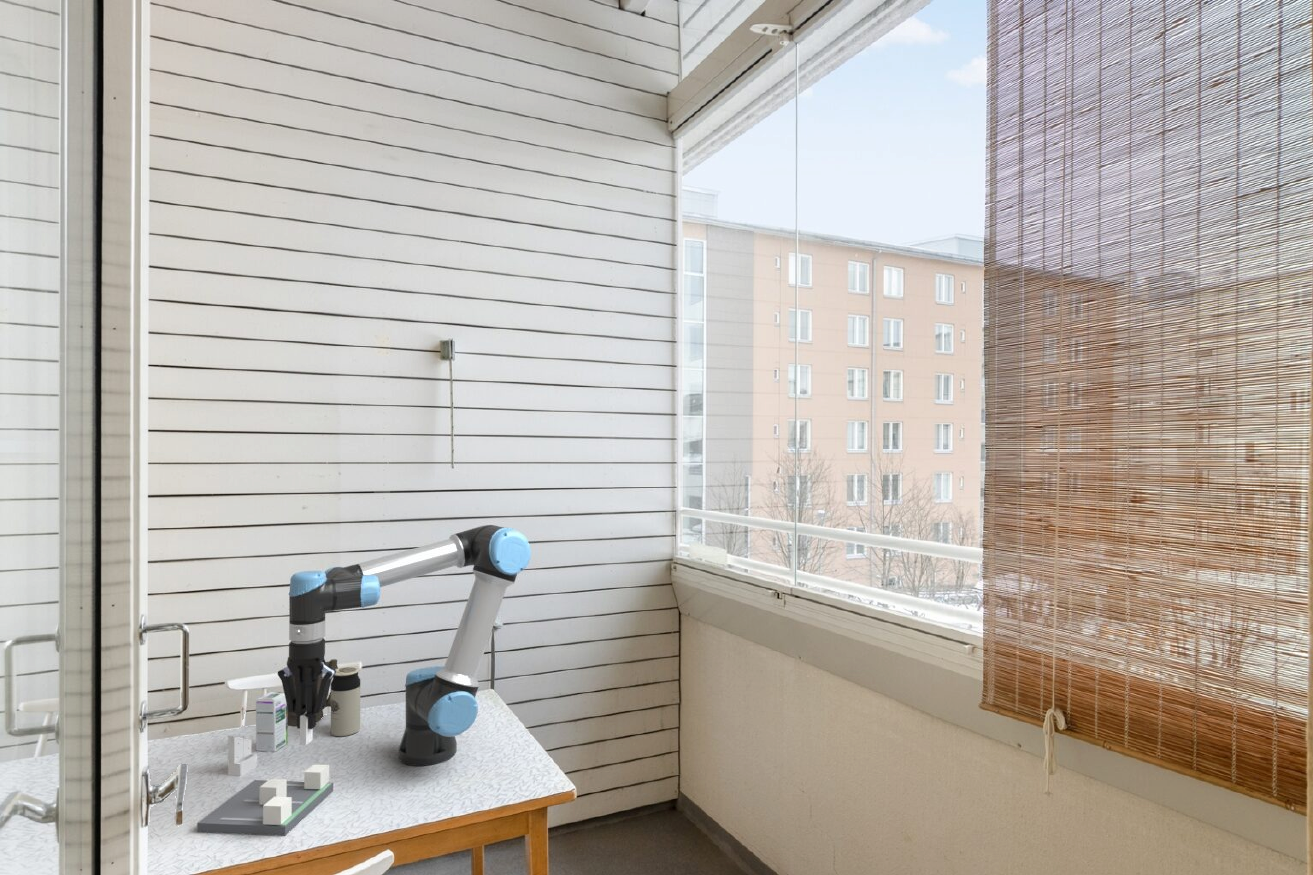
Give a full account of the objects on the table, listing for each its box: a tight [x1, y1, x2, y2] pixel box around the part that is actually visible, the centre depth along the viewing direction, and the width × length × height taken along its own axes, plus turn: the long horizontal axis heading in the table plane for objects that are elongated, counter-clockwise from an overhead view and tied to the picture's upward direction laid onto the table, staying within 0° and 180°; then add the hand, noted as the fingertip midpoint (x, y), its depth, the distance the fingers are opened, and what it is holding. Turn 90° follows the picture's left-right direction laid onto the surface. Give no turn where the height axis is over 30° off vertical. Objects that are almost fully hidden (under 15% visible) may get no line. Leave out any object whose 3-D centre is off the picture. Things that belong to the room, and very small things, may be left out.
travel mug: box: [330, 666, 361, 737], centre depth 211 cm, size 8×8×18 cm
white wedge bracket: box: [227, 735, 258, 777], centre depth 185 cm, size 4×10×9 cm, turn 168°
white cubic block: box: [259, 778, 288, 805], centre depth 166 cm, size 4×4×4 cm
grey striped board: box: [196, 779, 334, 837], centre depth 166 cm, size 20×20×2 cm
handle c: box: [263, 797, 292, 825], centre depth 157 cm, size 4×4×4 cm
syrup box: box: [255, 691, 289, 753], centre depth 200 cm, size 6×6×14 cm
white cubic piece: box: [303, 764, 330, 789], centre depth 173 cm, size 4×4×4 cm
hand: (306, 742), depth 165 cm, fingers closed
